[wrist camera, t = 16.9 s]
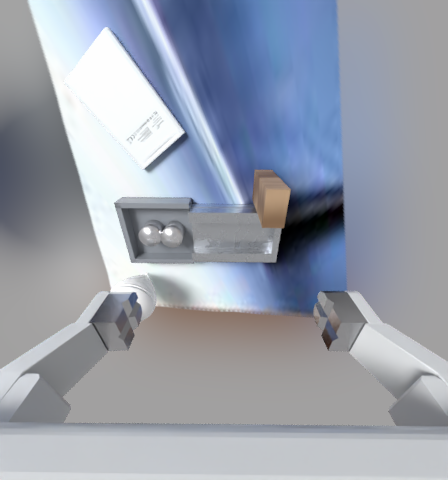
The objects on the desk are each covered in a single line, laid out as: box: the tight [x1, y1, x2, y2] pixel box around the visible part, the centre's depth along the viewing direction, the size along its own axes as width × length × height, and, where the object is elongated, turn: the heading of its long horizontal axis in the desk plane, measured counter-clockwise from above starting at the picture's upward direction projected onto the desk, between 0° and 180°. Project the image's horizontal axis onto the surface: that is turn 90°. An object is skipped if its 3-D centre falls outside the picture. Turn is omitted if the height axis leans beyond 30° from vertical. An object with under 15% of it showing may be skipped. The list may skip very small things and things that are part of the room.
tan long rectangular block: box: [253, 170, 291, 228], centre depth 26 cm, size 4×2×10 cm, turn 0°
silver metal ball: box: [160, 221, 186, 248], centre depth 33 cm, size 3×3×3 cm
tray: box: [114, 197, 194, 263], centre depth 33 cm, size 11×11×3 cm
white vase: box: [110, 273, 156, 322], centre depth 34 cm, size 8×8×12 cm
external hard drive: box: [64, 27, 185, 170], centre depth 26 cm, size 2×8×12 cm
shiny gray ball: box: [138, 220, 165, 247], centre depth 32 cm, size 3×3×3 cm
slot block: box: [188, 204, 282, 262], centre depth 33 cm, size 9×14×4 cm, turn 90°
